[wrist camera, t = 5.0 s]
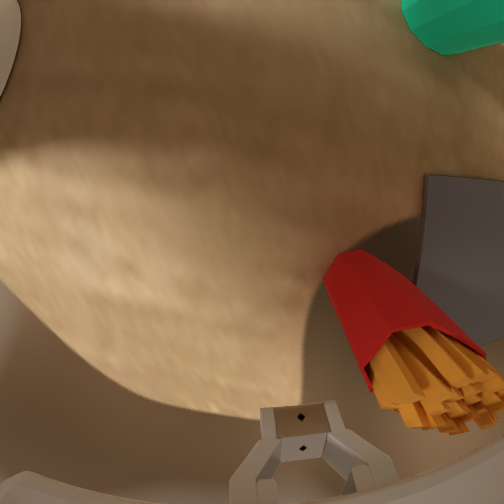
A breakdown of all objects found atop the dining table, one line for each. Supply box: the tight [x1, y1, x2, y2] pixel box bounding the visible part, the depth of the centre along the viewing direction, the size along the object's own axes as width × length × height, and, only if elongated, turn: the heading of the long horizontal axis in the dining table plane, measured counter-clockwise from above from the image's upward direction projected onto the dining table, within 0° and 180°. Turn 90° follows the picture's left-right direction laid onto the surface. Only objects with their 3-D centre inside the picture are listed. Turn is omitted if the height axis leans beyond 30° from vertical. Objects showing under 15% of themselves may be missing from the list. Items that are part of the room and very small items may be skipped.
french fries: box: [323, 249, 504, 435], centre depth 15 cm, size 9×4×13 cm, turn 61°
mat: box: [413, 174, 504, 346], centre depth 21 cm, size 20×16×1 cm
